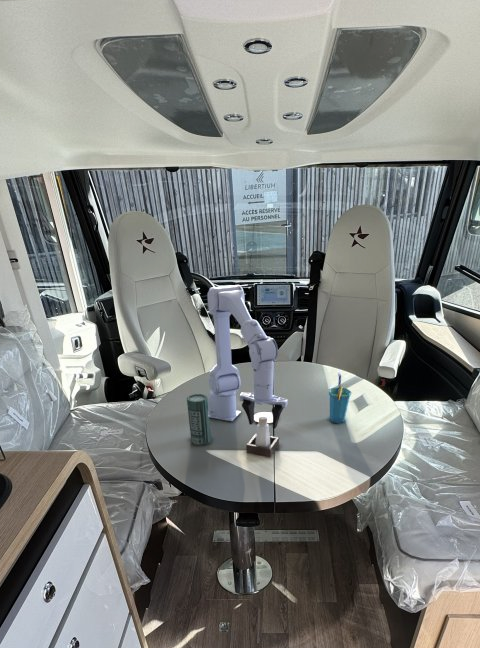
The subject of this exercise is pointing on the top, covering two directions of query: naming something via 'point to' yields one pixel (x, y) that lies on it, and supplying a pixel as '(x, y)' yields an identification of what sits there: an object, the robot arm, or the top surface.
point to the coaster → (266, 414)
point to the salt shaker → (263, 433)
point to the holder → (262, 450)
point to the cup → (338, 402)
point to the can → (199, 419)
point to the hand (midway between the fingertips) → (263, 425)
